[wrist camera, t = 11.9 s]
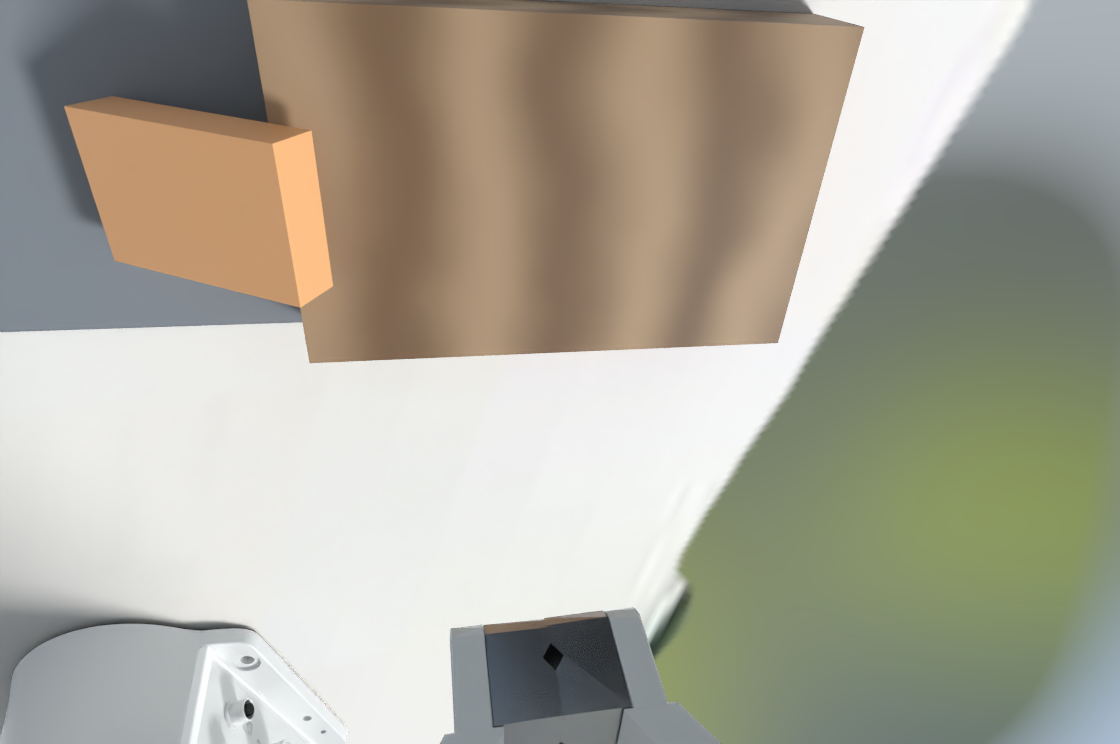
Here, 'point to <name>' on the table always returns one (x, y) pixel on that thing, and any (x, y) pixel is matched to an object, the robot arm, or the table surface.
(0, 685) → the table surface
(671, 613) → the table surface
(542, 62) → the deck
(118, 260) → the block
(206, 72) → the mat
